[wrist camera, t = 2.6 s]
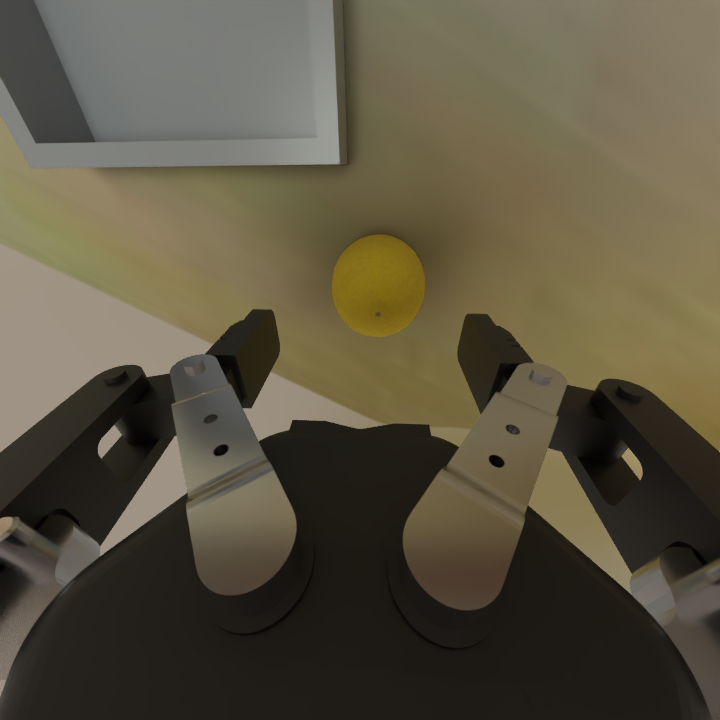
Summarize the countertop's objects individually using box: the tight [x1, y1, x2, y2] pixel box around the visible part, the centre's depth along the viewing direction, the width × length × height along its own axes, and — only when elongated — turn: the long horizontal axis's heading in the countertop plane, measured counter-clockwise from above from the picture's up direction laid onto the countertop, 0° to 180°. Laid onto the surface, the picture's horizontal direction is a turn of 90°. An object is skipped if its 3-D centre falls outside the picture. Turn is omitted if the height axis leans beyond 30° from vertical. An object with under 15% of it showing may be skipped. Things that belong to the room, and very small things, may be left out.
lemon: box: [331, 234, 425, 337], centre depth 17 cm, size 6×6×8 cm
